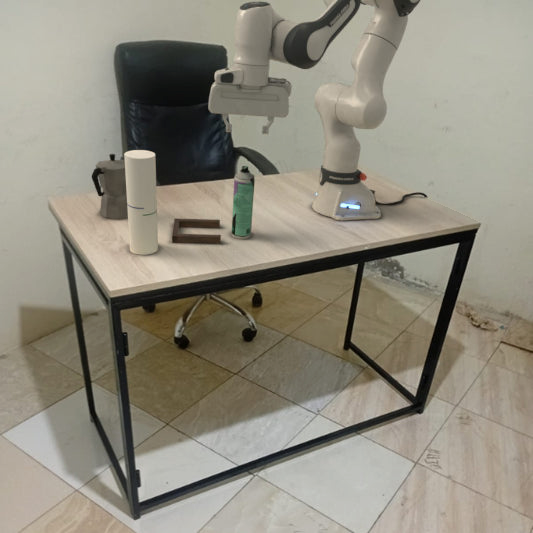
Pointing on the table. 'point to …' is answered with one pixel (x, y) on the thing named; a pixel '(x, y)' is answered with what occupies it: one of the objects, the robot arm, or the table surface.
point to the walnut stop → (195, 237)
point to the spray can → (242, 204)
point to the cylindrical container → (141, 201)
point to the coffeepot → (111, 187)
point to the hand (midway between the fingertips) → (246, 132)
